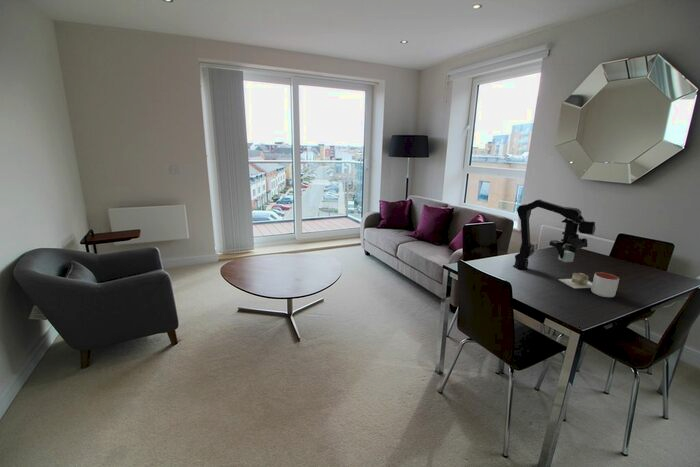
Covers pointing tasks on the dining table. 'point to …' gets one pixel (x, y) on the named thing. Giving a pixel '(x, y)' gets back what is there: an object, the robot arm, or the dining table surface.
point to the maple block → (579, 279)
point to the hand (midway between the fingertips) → (565, 258)
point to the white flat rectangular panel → (568, 282)
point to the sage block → (567, 256)
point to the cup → (604, 284)
